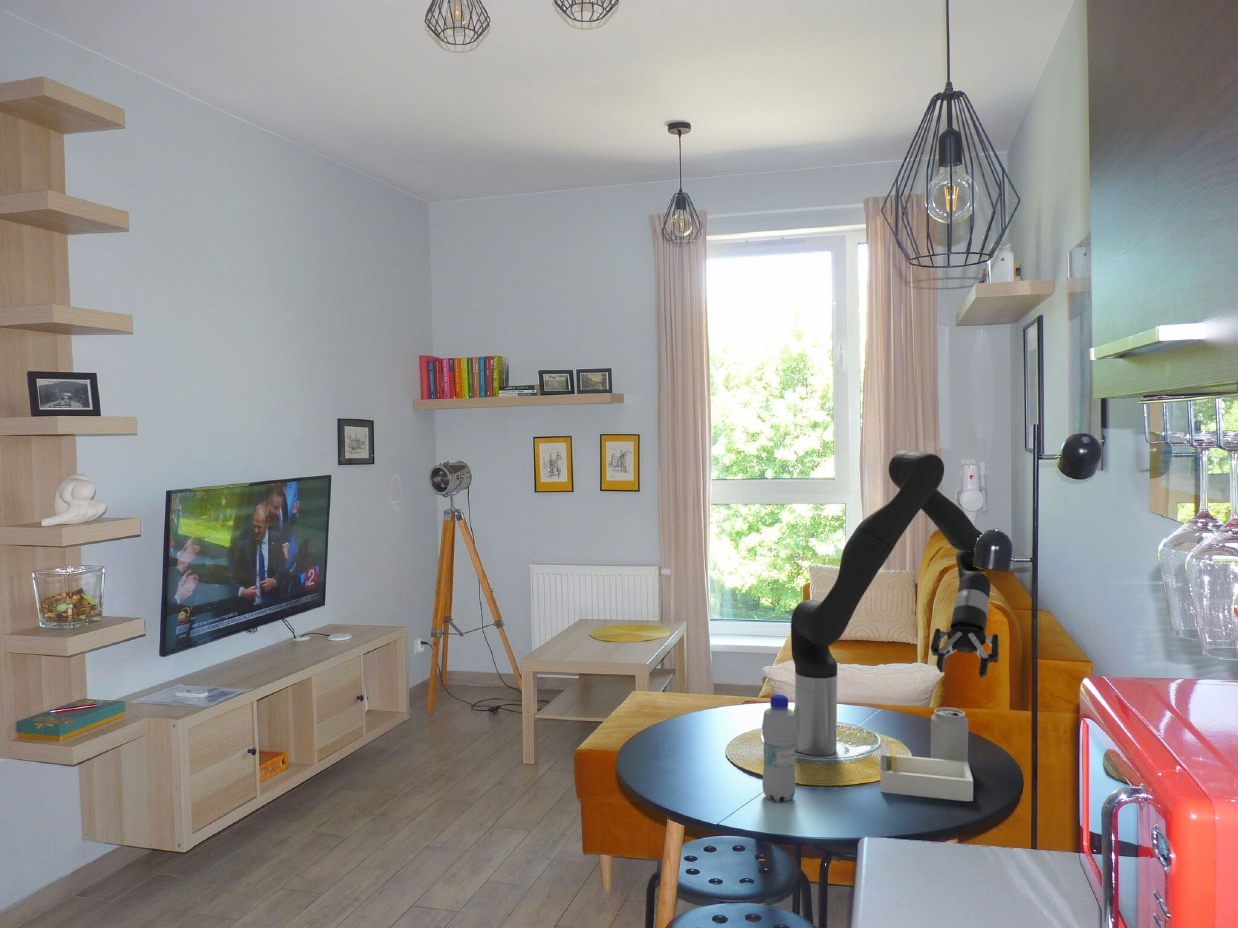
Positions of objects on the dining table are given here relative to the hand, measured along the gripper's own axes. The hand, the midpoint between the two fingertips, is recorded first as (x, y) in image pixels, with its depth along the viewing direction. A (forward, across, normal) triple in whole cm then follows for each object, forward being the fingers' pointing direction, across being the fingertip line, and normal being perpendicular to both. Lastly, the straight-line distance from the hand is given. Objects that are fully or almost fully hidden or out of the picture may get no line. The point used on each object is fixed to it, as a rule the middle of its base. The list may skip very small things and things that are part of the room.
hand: (960, 673), depth 202 cm
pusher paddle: (+31, -8, -8) cm, 33 cm away
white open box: (+31, -2, -6) cm, 31 cm away
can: (+21, 0, +4) cm, 21 cm away
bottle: (+45, -25, -21) cm, 56 cm away
